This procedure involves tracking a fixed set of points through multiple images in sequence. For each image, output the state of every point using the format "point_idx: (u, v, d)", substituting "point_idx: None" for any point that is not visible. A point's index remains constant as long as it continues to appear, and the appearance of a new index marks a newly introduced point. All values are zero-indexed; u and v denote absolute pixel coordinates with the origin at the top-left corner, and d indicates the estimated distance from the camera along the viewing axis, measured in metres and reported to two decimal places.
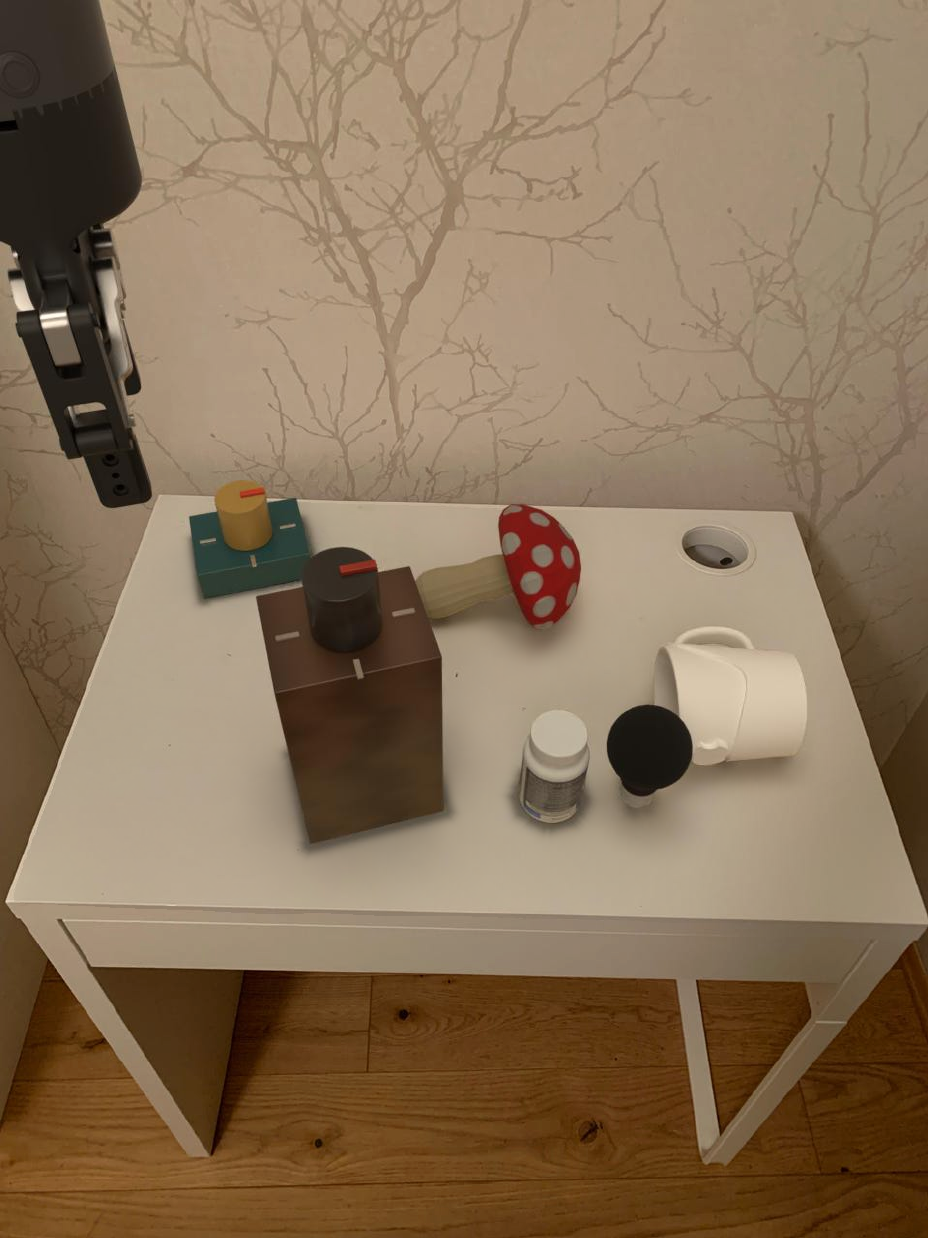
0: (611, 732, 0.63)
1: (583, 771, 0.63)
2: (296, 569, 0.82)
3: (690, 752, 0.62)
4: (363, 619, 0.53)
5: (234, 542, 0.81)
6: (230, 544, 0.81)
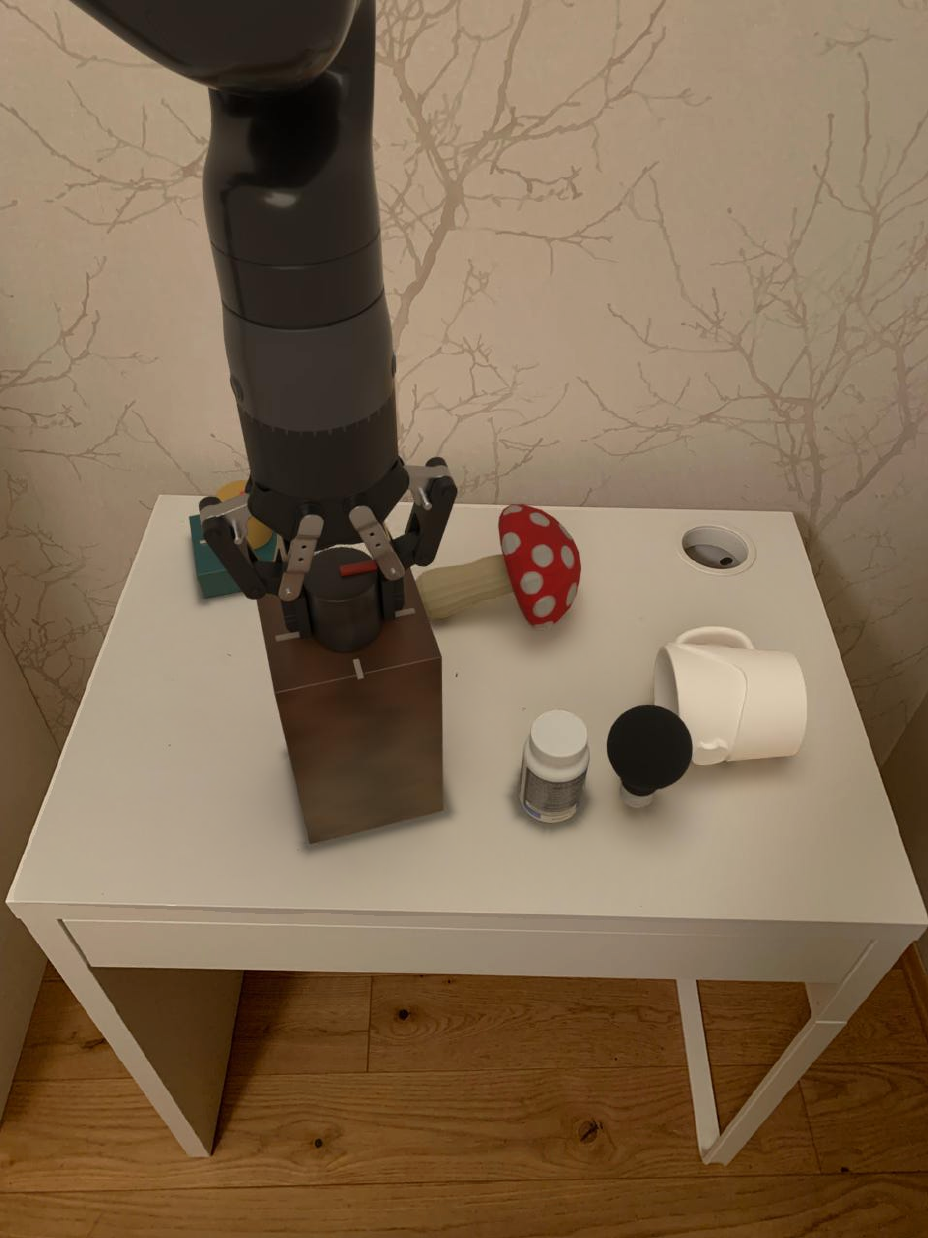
0: (611, 732, 0.63)
1: (583, 771, 0.63)
2: None
3: (690, 752, 0.62)
4: (363, 619, 0.53)
5: None
6: None
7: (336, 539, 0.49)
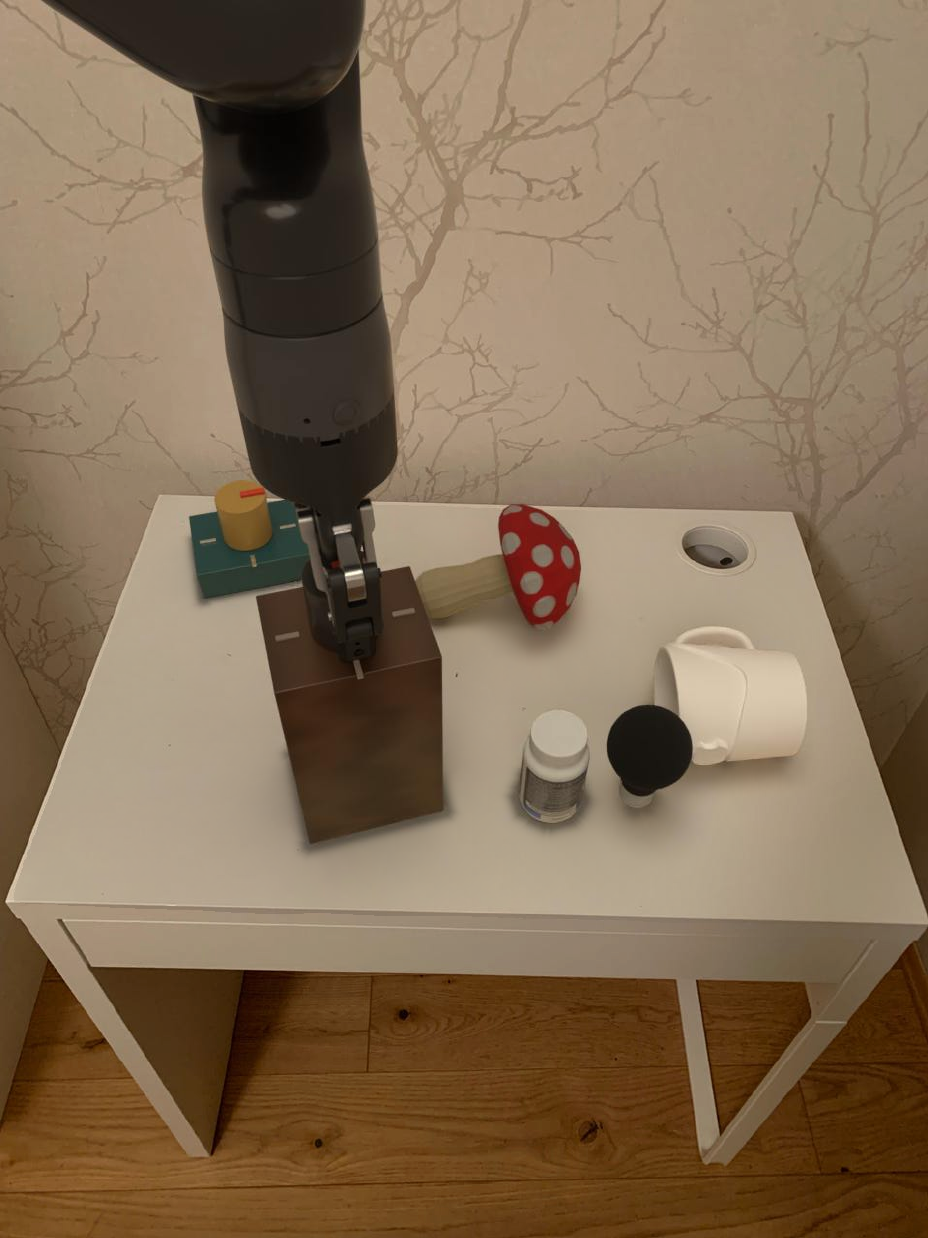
0: (611, 732, 0.63)
1: (583, 771, 0.63)
2: (296, 569, 0.82)
3: (690, 752, 0.62)
4: None
5: (234, 542, 0.81)
6: (230, 544, 0.81)
7: None
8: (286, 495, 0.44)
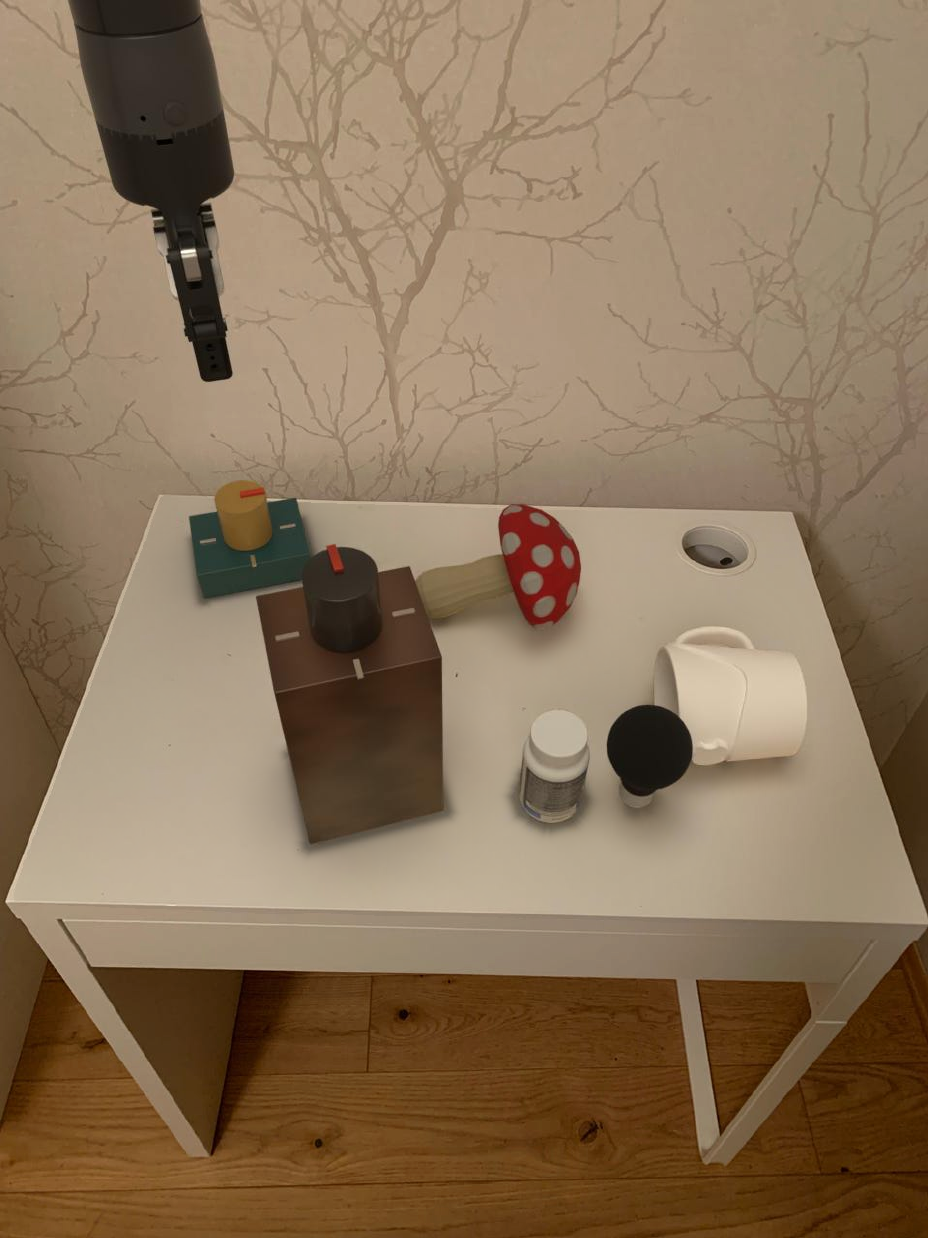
0: (611, 732, 0.63)
1: (583, 771, 0.63)
2: (296, 569, 0.82)
3: (690, 752, 0.62)
4: None
5: (234, 542, 0.81)
6: (230, 544, 0.81)
7: None
8: (136, 197, 0.55)
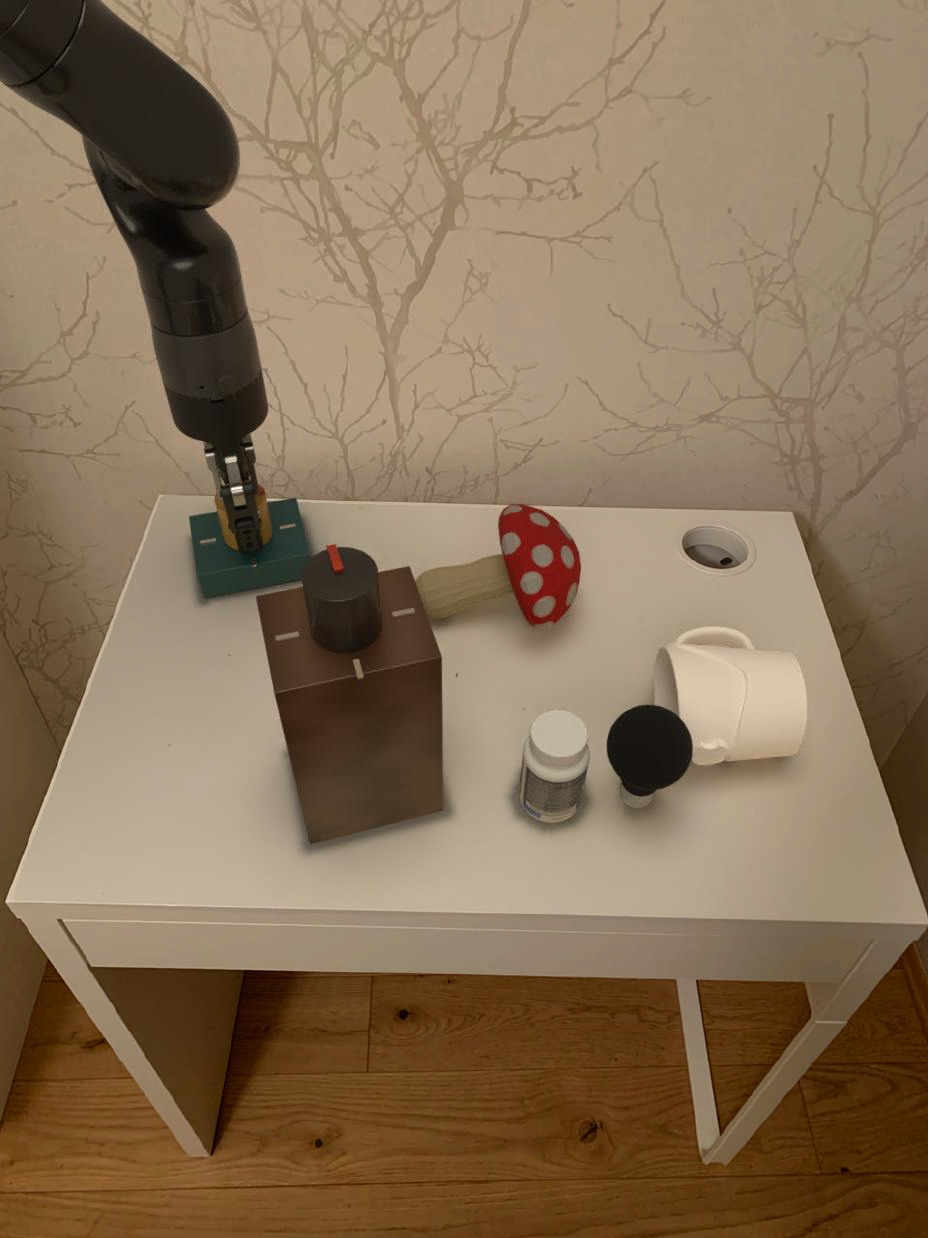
0: (611, 732, 0.63)
1: (583, 771, 0.63)
2: (296, 569, 0.82)
3: (690, 752, 0.62)
4: None
5: (234, 542, 0.81)
6: (230, 544, 0.81)
7: None
8: (193, 435, 0.70)
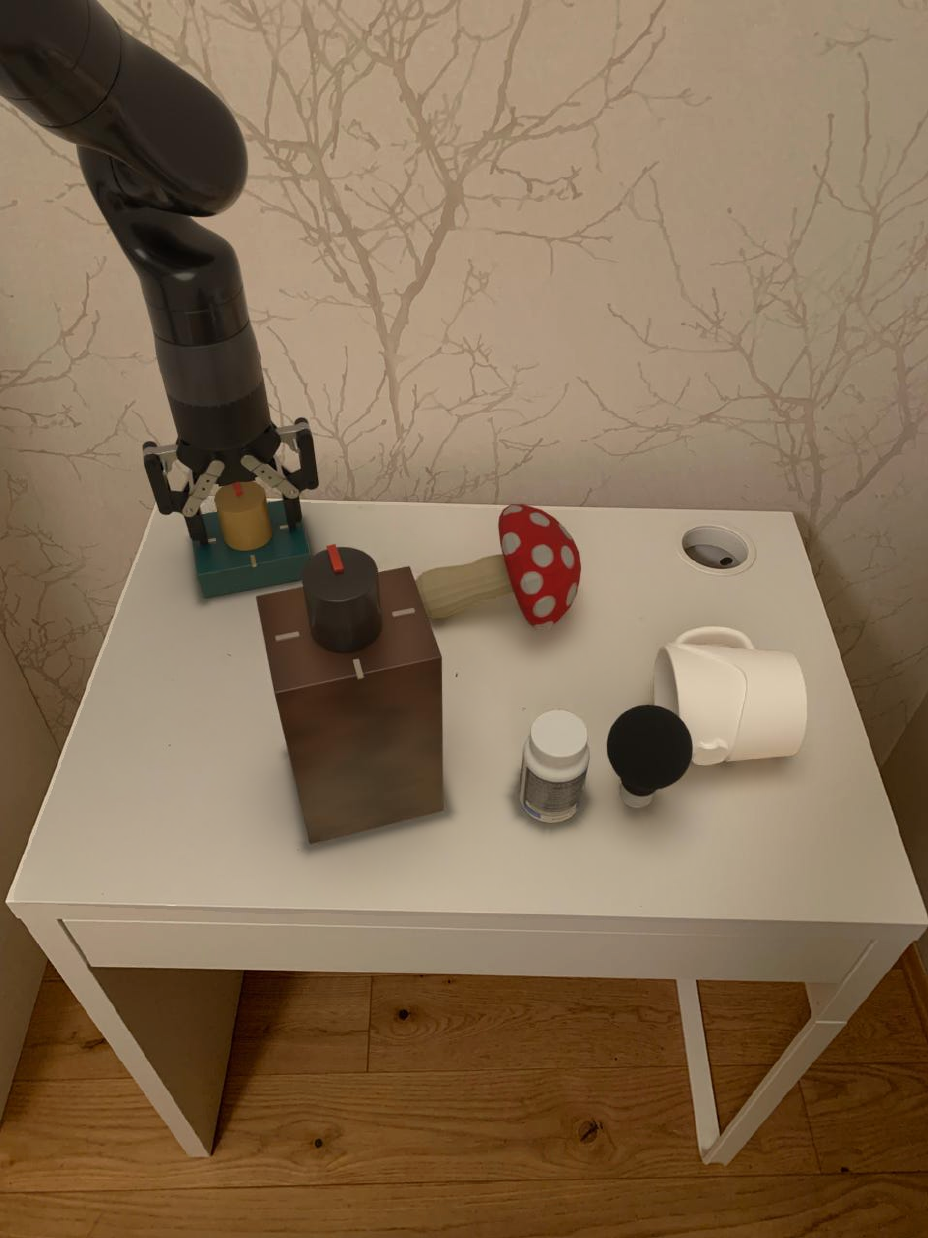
0: (611, 732, 0.63)
1: (583, 771, 0.63)
2: (296, 569, 0.82)
3: (690, 752, 0.62)
4: None
5: (269, 531, 0.82)
6: (267, 538, 0.82)
7: None
8: (263, 428, 0.72)
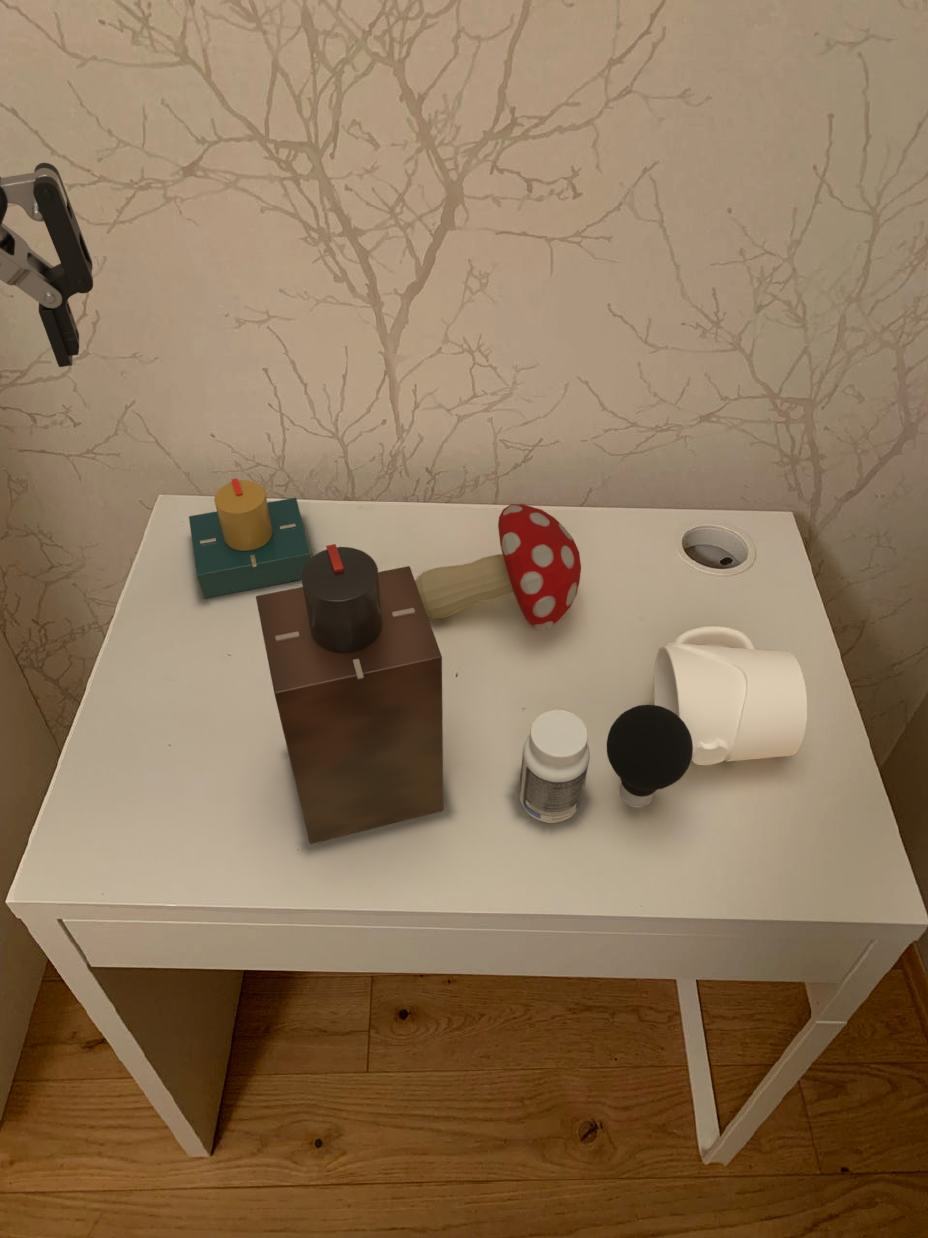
0: (611, 732, 0.63)
1: (583, 771, 0.63)
2: (296, 569, 0.82)
3: (690, 752, 0.62)
4: None
5: (269, 531, 0.82)
6: (267, 538, 0.82)
7: None
8: None
